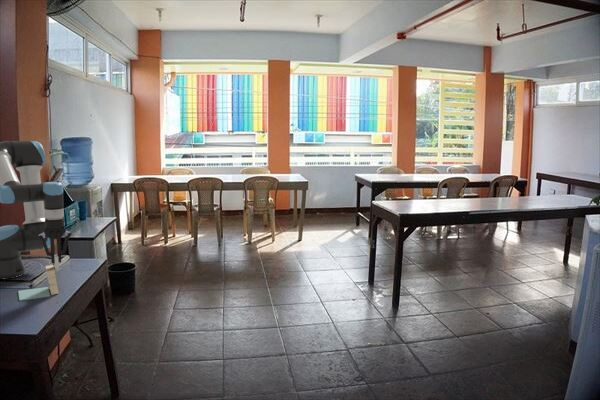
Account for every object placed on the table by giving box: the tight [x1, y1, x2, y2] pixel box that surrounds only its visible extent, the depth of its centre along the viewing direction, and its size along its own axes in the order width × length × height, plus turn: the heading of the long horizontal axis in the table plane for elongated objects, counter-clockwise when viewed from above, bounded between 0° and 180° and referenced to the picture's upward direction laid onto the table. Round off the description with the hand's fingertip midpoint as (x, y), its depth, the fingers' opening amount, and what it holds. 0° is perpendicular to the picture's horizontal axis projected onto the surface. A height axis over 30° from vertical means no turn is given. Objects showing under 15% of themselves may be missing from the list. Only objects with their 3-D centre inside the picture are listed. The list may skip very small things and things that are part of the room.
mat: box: [18, 286, 51, 302], centre depth 205 cm, size 11×12×1 cm
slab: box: [44, 264, 60, 296], centre depth 208 cm, size 8×3×11 cm, turn 33°
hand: (56, 269), depth 209 cm, fingers closed
